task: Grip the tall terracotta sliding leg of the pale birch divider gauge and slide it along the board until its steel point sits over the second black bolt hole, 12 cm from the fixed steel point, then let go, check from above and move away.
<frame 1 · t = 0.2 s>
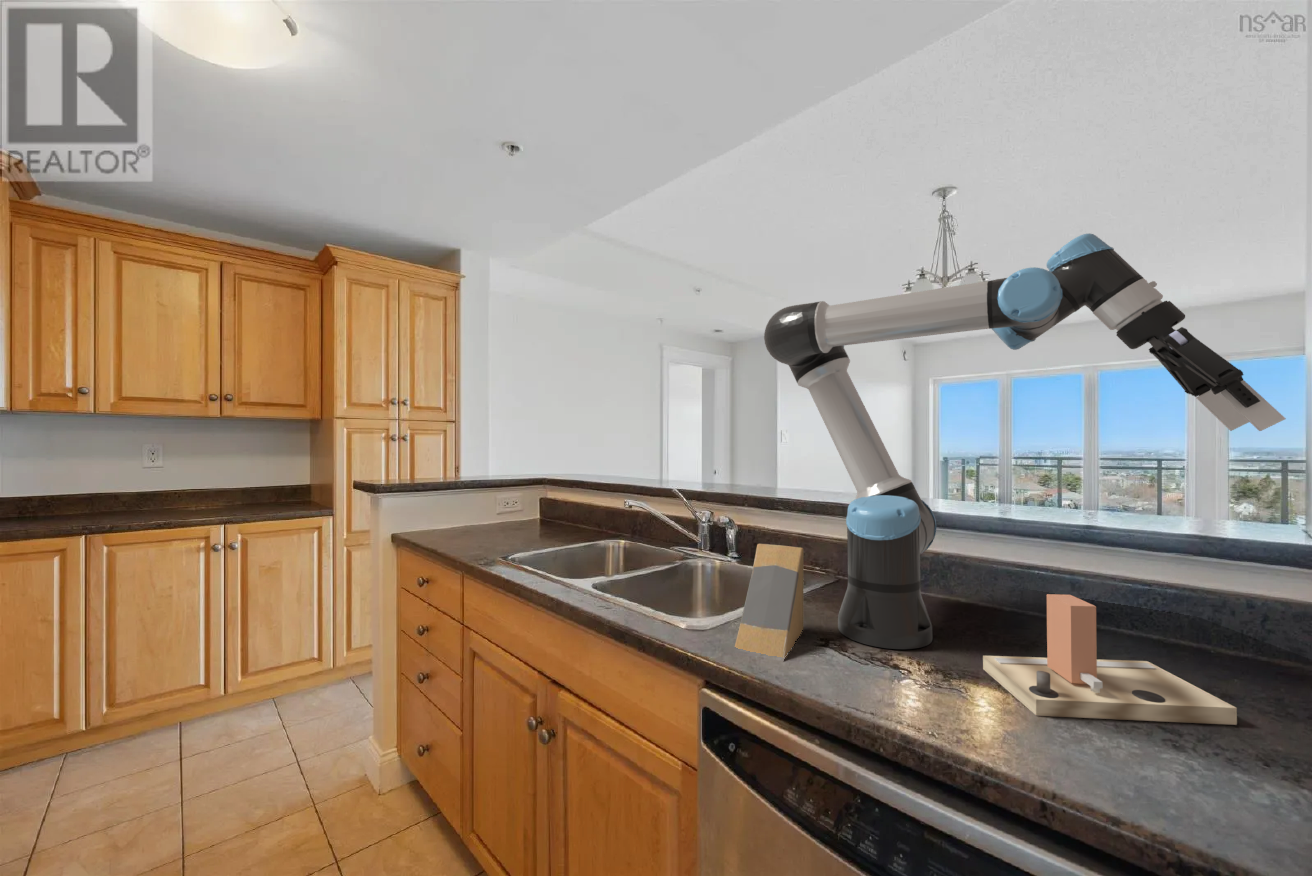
hand: (1256, 425, 75), 35 cm above the worktop, tool tilted 35°, fingers open, 13 cm apart
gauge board: (1095, 693, 70), on the worktop
sandwich container: (769, 642, 89), on the worktop
sliding leg: (1077, 641, 69), point 7 cm above the worktop, slide at 0.0 cm
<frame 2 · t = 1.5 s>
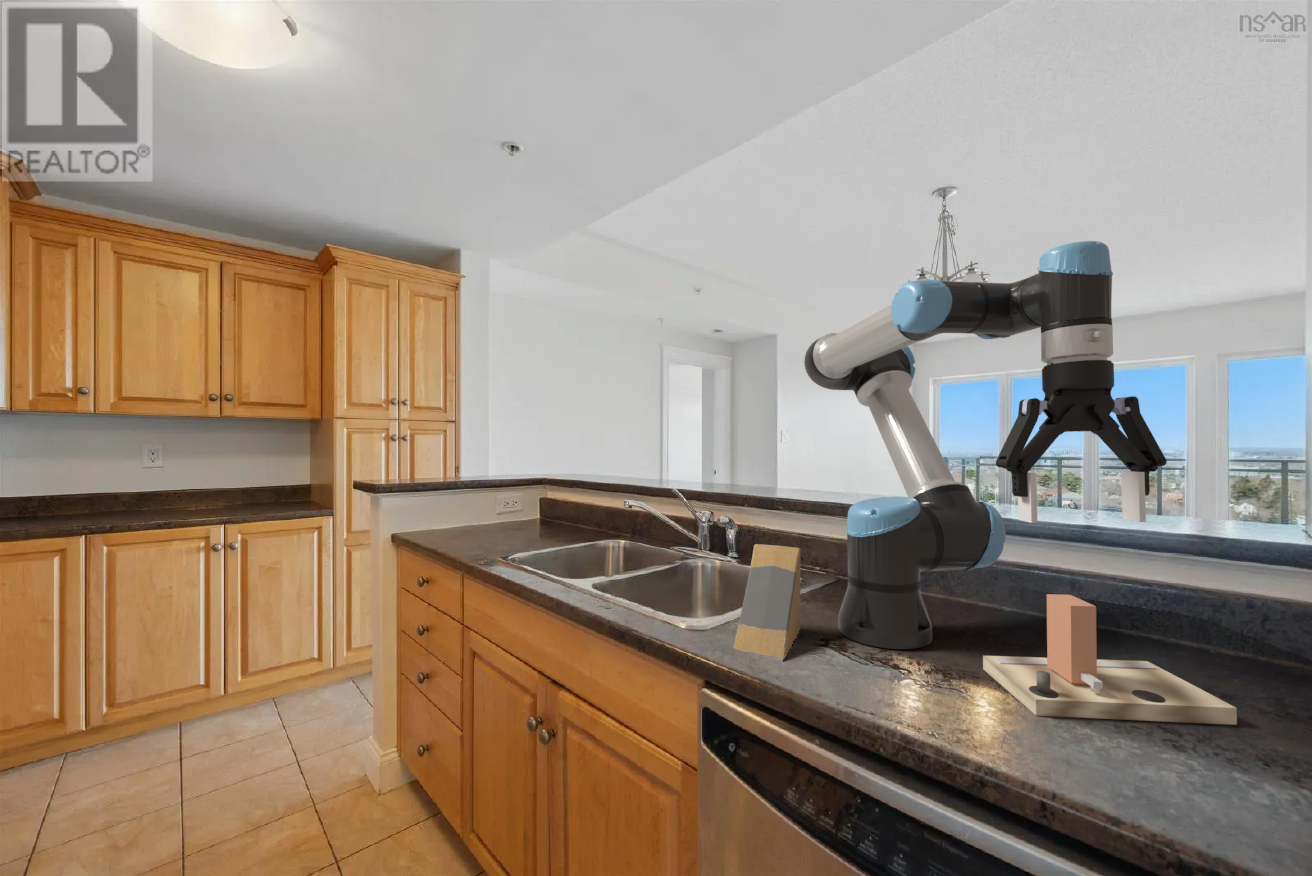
hand: (1080, 521, 70), 23 cm above the worktop, tool pointing down, fingers open, 13 cm apart
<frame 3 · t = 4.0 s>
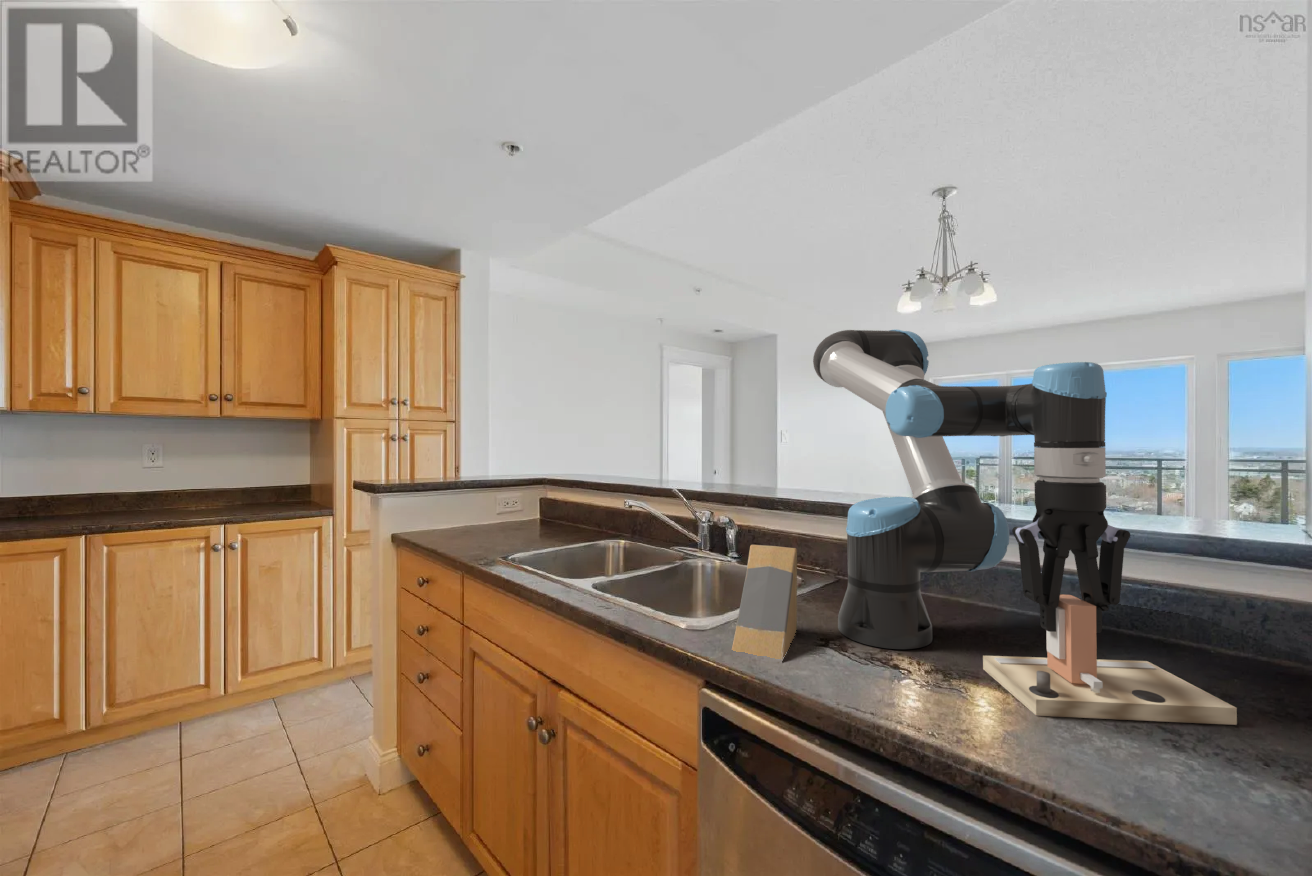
hand: (1071, 655, 70), 5 cm above the worktop, tool pointing down, fingers closed on sliding leg, 3 cm apart
sliding leg: (1077, 641, 69), point 7 cm above the worktop, slide at 0.0 cm, touching gripper
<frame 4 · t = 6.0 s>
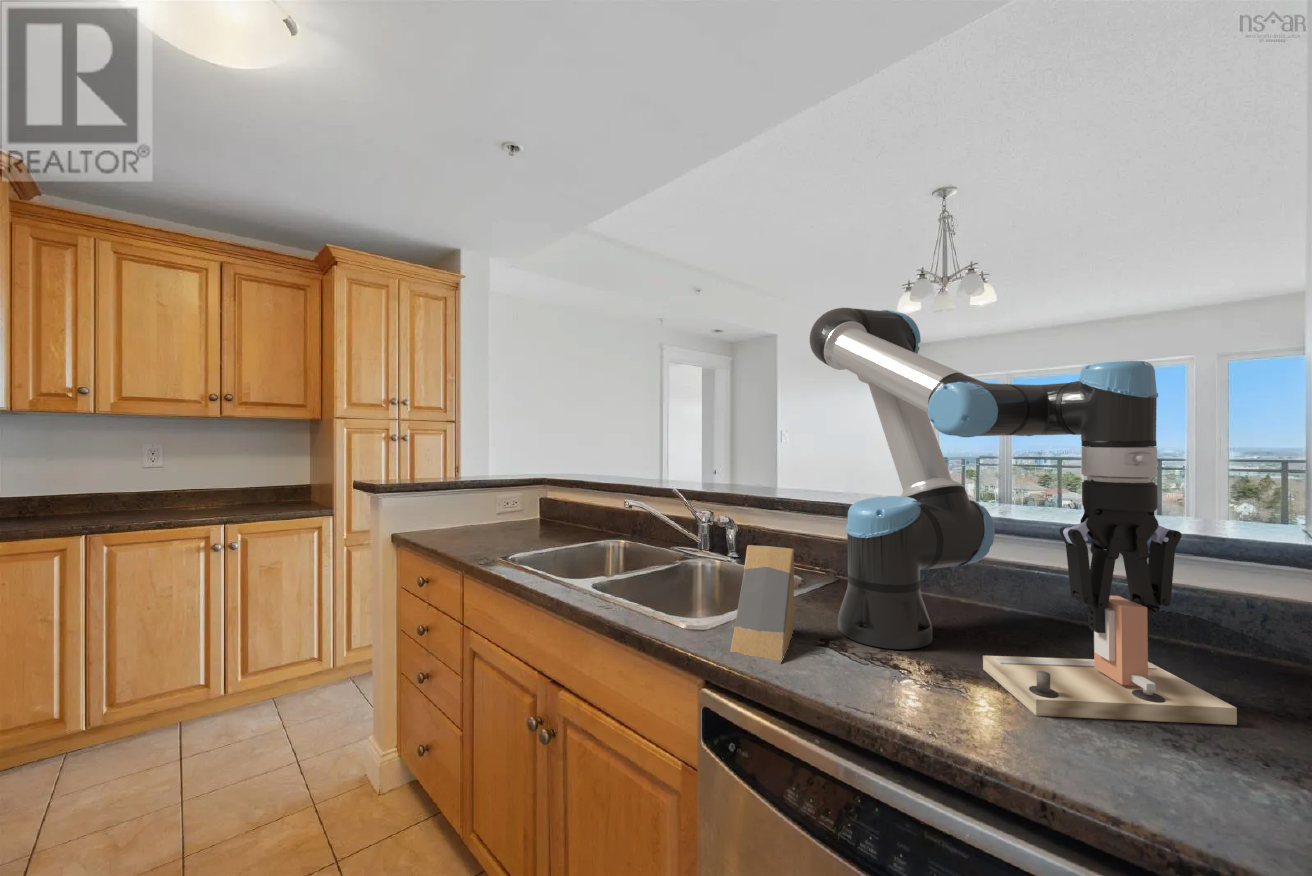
hand: (1120, 656, 69), 5 cm above the worktop, tool pointing down, fingers closed on sliding leg, 3 cm apart
sliding leg: (1127, 642, 68), point 7 cm above the worktop, slide at 6.0 cm, touching gripper
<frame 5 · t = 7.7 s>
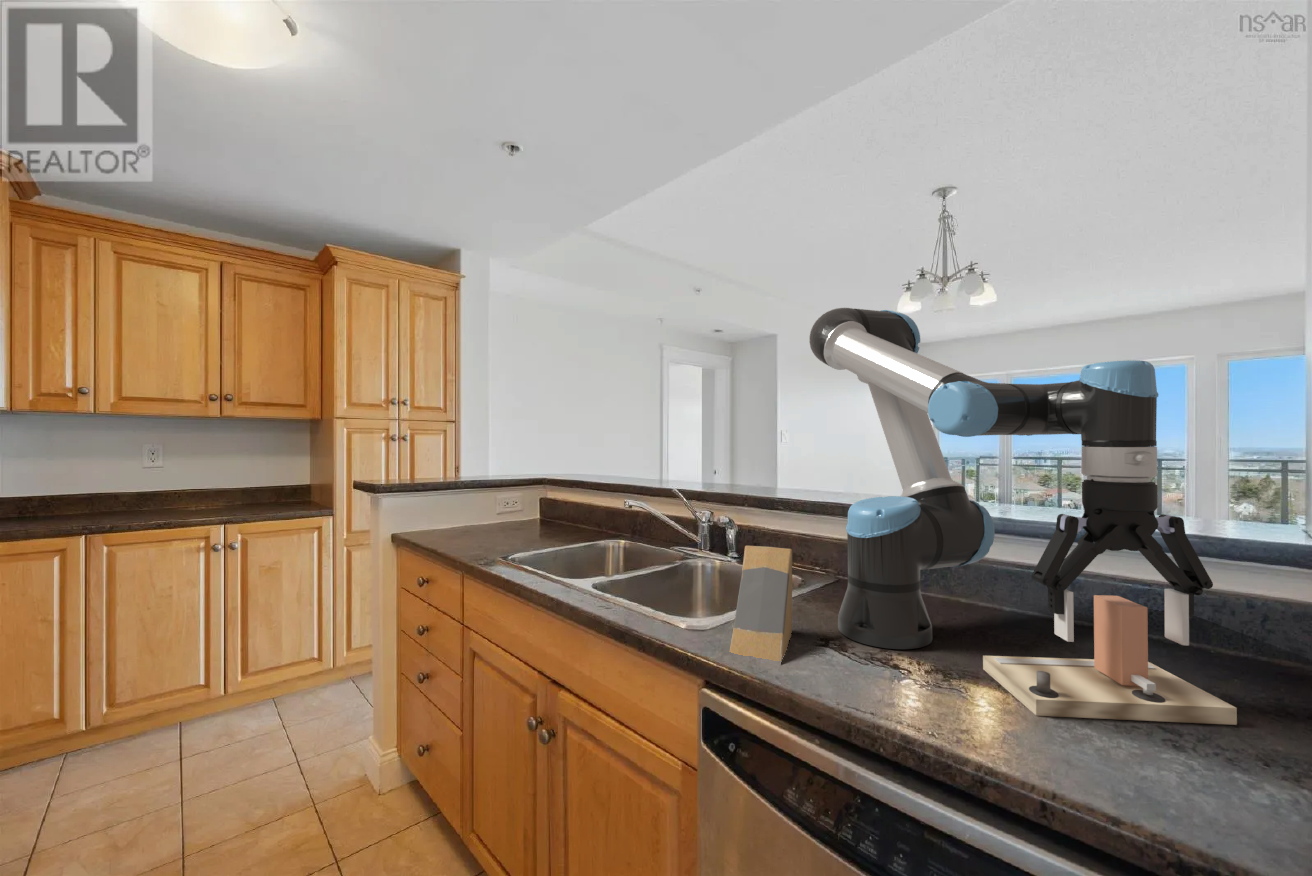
hand: (1119, 639, 69), 7 cm above the worktop, tool pointing down, fingers open, 13 cm apart
sliding leg: (1127, 642, 68), point 7 cm above the worktop, slide at 6.0 cm
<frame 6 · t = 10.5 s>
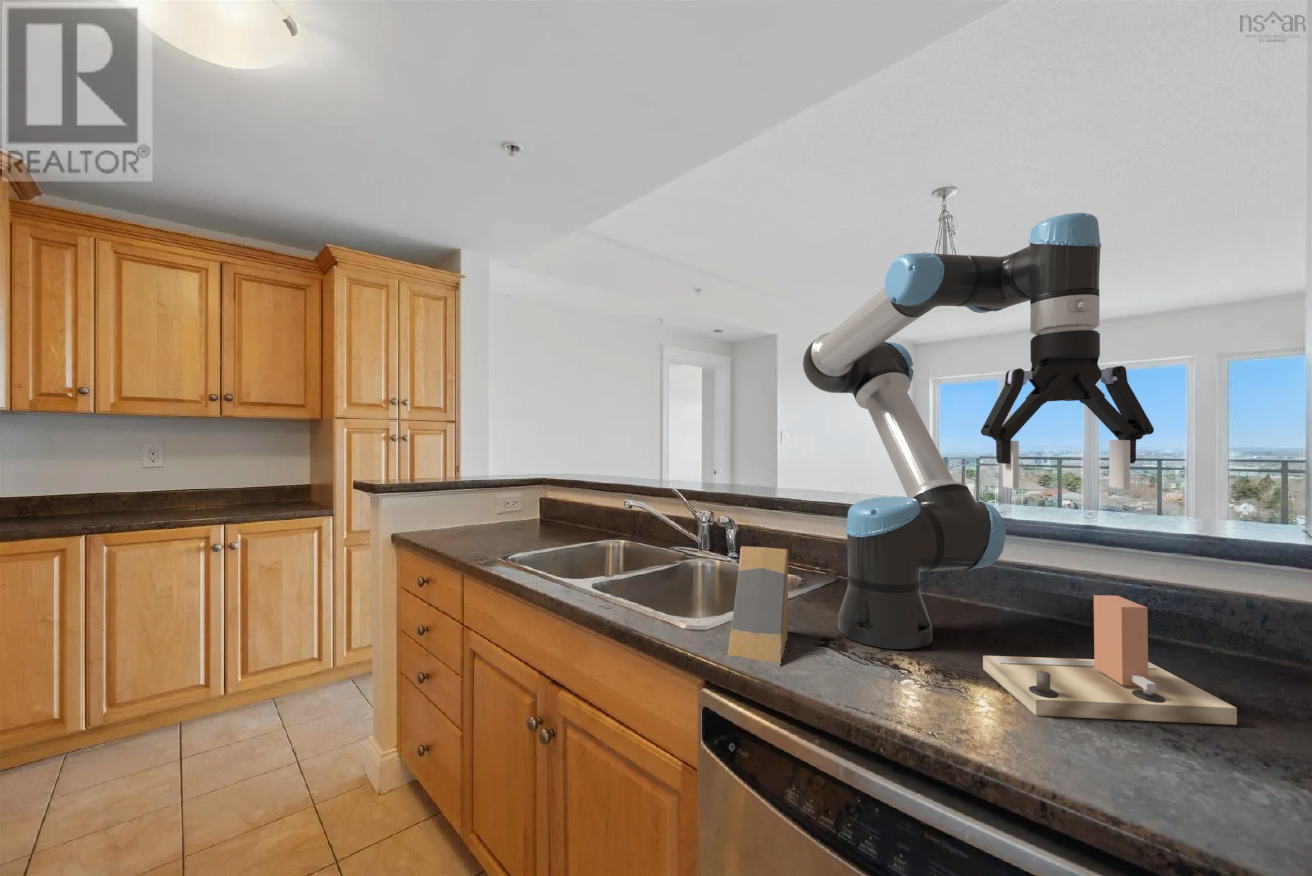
hand: (1064, 488, 72), 27 cm above the worktop, tool pointing down, fingers open, 13 cm apart
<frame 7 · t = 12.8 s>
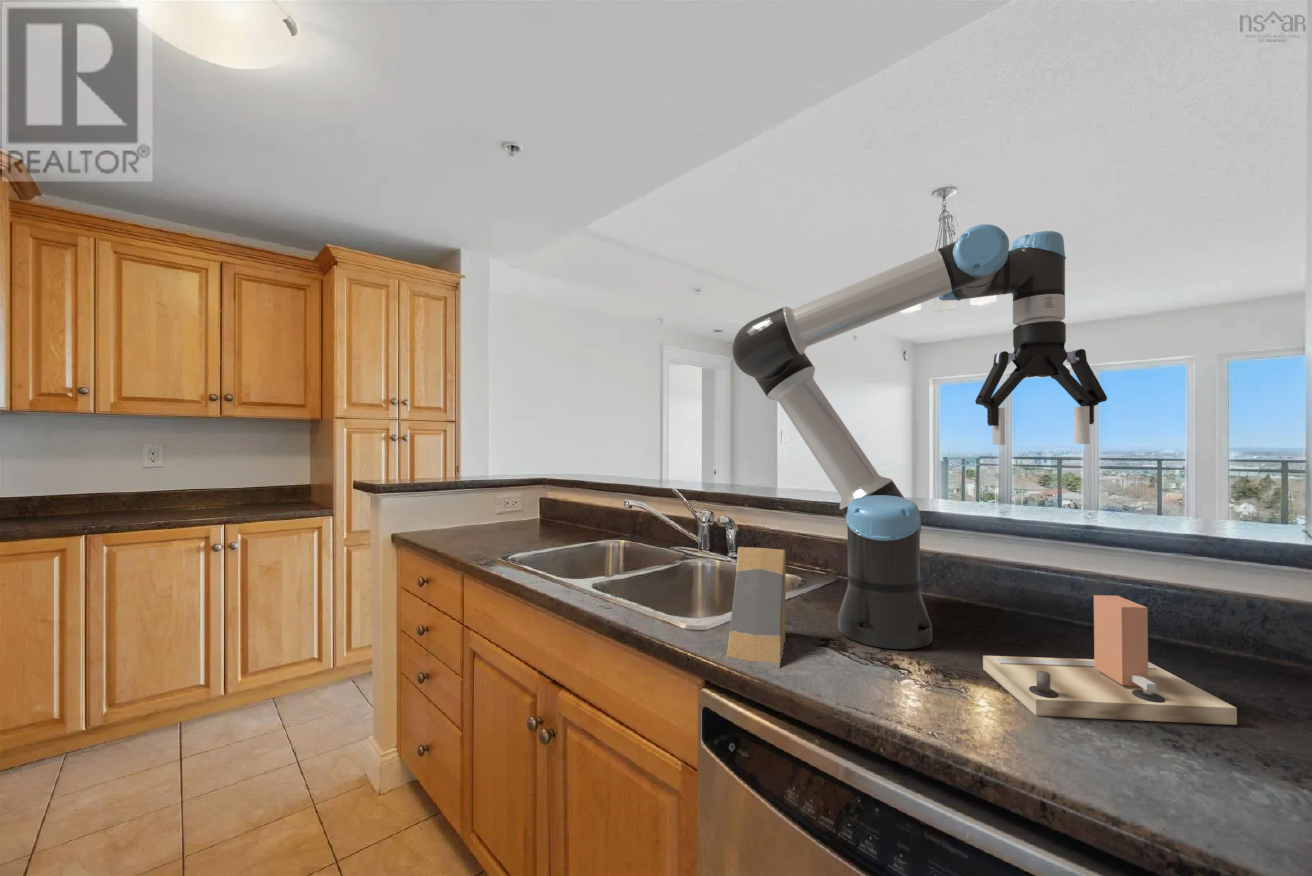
hand: (1040, 444, 93), 33 cm above the worktop, tool pointing down, fingers open, 13 cm apart
at the end: sliding leg slide at 6.0 cm; the gripper is holding nothing; sandwich container moved 3.8 cm from its start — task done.
